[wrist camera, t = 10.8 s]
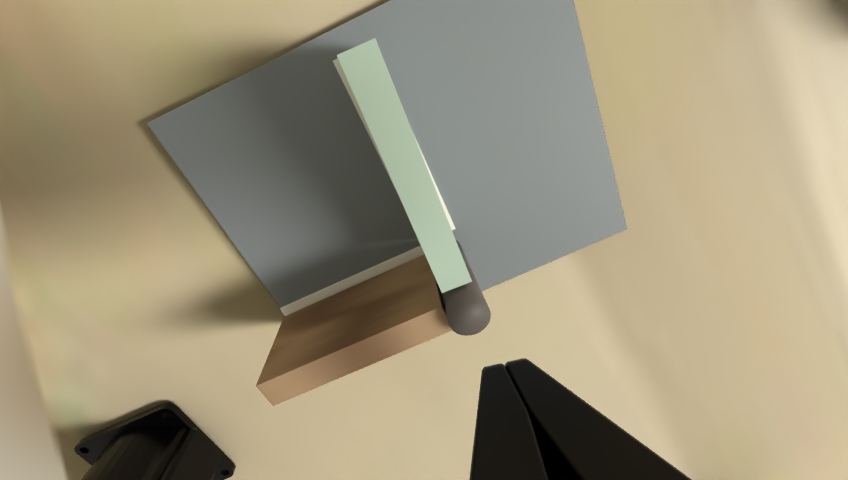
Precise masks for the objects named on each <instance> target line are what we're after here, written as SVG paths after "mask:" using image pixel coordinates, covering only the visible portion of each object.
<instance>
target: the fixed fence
mask: <svg viewBox="0 0 848 480" xmlns="http://www.w3.org/2000/svg"><path fill="white" fill-rule="evenodd" d="M456 242H457V245H458V247H459V250H460V252H461V255H462V257H463V260H464V262H465V265H466V267H467V270H468V272H469V275H470V277H471V280H472V282H469V283H467V284H464V285H462V286H459V287H457V288H454V289H452V290H449V291H446V292H444V293H442V292H441V290H440V288H439V285H438V283H437V281H436V279H435V276H434V274H433V272H432V270H431V267H430V265H429V263H428V260H427V258H426V256H425V254H424V255H422V256H420V257H418V258H415V259H413V260H411V261H409V262H406V263H404V264H402V265H399V266H397V267H395V268H393V269H390V270H388V271H386V272H384V273H381V274H379V275H377V276H375V277H372V278H370V279H368V280H366V281H363V282H361V283H359V284H356V285H354V286H352V287H350V288H347V289H345V290H343V291H341V292H338V293H336V294H334V295H332V296H329V297H327V298H325V299H323V300H320V301H318V302H316V303H313V304H311V305H309V306H307V307H304V308H302V309H300V310H298V311H295V312H293V313H291V314H289V315H286V316H284V319H283V321H282V324H281V326H280V328H279V331H278V333H277V336H276V338H275V341H274V343H273V346H272V348H271V350H270V353H269V355H268V358H267V360H266V363H265V365H264V368H263V370H262V372H261V375H260V377H259V380H258V382H257V385H256V387H257V388H258V389H259V390H260V391H261V392H262V394H263V395H264V396H265V397H266V398H267V400H268V401H269V402H270V403H271V404H272V405H273V406H274V405H276V404H279V403H281V402H283V401H286V400H288V399H290V398H293V397H295V396H298V395H300V394H302V393H305V392H307V391H309V390H312V389H314V388H317V387H319V386H321V385H324V384H326V383H328V382H331V381H333V380H335V379H338V378H340V377H343V376H345V375H347V374H350V373H352V372H354V371H357V370H359V369H362V368H364V367H366V366H369V365H371V364H373V363H376V362H378V361H381V360H383V359H385V358H388V357H390V356H392V355H395V354H397V353H399V352H402V351H404V350H407V349H409V348H411V347H414V346H416V345H418V344H421V343H423V342H426V341H428V340H430V339H433V338H435V337H437V336H440V335H442V334H444V333H447V332H449V331H452V330H453V331H454V332H456V333H458V334H460V335H474V334H477V333H479V332H480V331H482V330H483V329H484V328H485V327H486V326H487V325H488V323H489V321H490V310H489V308H488V305H487V303H486V301H485V299H484V296H483V294H482V292H481V290H480V287H479V285H478V283H477V281H476V278H475V276H474V274H473V272H472V269H471V267H470V265H469V263H468V260H467V258H466V256H465V254H464V251H463V249H462V247H461V245H460V243H459V242H458V241H457V240H456Z"/></svg>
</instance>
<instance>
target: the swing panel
mask: <svg viewBox="0 0 848 480" xmlns="http://www.w3.org/2000/svg"><path fill="white" fill-rule="evenodd" d="M337 57H338V60H339V62H340V64H341V66H342V69H343V71H344V73H345V75H346V78H347V80H348V82H349V84H350V87H351V89H352V91H353V93H354V96H355V98H356V100H357V102H358V105H359V107H360V109H361V111H362V114H363V116H364V118H365V121H366V123H367V125H368V127H369V130H370V132H371V134H372V136H373V139H374V141H375V143H376V145H377V148H378V150H379V152H380V154H381V157H382V159H383V161H384V163H385V166H386V168H387V170H388V172H389V175H390V177H391V179H392V181H393V184H394V186H395V188H396V191H397V193H398V195H399V197H400V200H401V202H402V204H403V206H404V209H405V211H406V213H407V215H408V218H409V220H410V222H411V224H412V227H413V229H414V231H415V233H416V236H417V238H418V240H419V242H420V245H421V247H422V249H423V251H424V254H425V256H426V258H427V260H428V263H429V265H430V267H431V270H432V272H433V274H434V276H435V279H436V281H437V283H438V285H439V288H440V290H441V292H442V293H444V292H446V291H449V290H452V289H454V288H457V287H459V286H462V285H464V284H467V283H469V282H472V280H471V277H470V275H469V272H468V270H467V267H466V265H465V262H464V260H463V257H462V255H461V252H460V250H459V247H458V245H457V242H456V240H455V237H454V235H453V232H452V230H451V227H450V225H449V222H448V219H447V217H446V214H445V212H444V209H443V207H442V204H441V202H440V199H439V197H438V194H437V192H436V189H435V187H434V184H433V182H432V179H431V177H430V174H429V172H428V169H427V167H426V164H425V162H424V159H423V157H422V154H421V152H420V149H419V147H418V144H417V142H416V139H415V137H414V134H413V131H412V129H411V126H410V124H409V121H408V119H407V116H406V114H405V111H404V109H403V106H402V104H401V101H400V99H399V96H398V94H397V91H396V89H395V86H394V84H393V81H392V79H391V76H390V74H389V71H388V69H387V66H386V64H385V61H384V59H383V56H382V54H381V51H380V49H379V46H378V44H377V41H376V38H374V39H372V40H370V41H367V42H365V43H363V44H361V45H358V46H356V47H354V48H351V49H349V50H347V51H345V52H342V53H340V54H338V55H337Z"/></svg>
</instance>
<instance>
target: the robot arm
mask: <svg viewBox="0 0 848 480" xmlns="http://www.w3.org/2000/svg"><path fill="white" fill-rule="evenodd" d="M168 412H169V413H168ZM75 452H76V453H77V454H78V455H80V456H81V457H82V458H83V459H84V460H86V461H87V462H88V463H89V464H91V465H92V466H91V468H90V469H89V470H88V472H87V473H86V474H85V476H84V477H83V478H82V480H224V479H227V478H229V477H231V476H232V475H233V473H234V471H235V468H236V466H235V464H234V463H233V462H232V461H231V460H230V459H229V458H228V457H227V456H226V455H225V454H224V453H223V452H222V451H221V450H220V449H219V448H218V447H217V446H216V445H215V444H214V443H213V442H212V441H211V440H210V439H209V438H208V437H207V436H206V435H205V434H204V433H203V432H202V431H201V430H200V429H199V428H198V427H197V426H196V425H195V424H194V423H193V422H192V421H191V420H190V419H189V418H188V417H187V416H186V415H185V414H184V413H183V412H182V411H181V410H180V409H179V408H178V407H177V406H176V405H175V404H172V403H165V404H162V405H160V406H158V407H155V408H153V409H151V410H149V411H146V412H144V413H142V414H139V415H137V416H135V417H132V418H130V419H128V420H125V421H123V422H121V423H119V424H116V425H114V426H112V427H109V428H107V429H105V430H102V431H100V432H98V433H95V434H93V435H91V436H89V437H86V438H84V439H82V440H81V441H80V442H79V443H78V444H77V445H76V447H75ZM470 480H691V479H690V478H689V477H687V476H686V475H685V474H683V473H682V472H680V471H679V470H678V469H676V468H675V467H674V466H672V465H671V464H670V463H668V462H667V461H665V460H664V459H663V458H661V457H660V456H659V455H657V454H656V453H655V452H653V451H652V450H650V449H649V448H648V447H646V446H645V445H644V444H642V443H641V442H640V441H638V440H637V439H635V438H634V437H633V436H631V435H630V434H629V433H627V432H626V431H625V430H623V429H622V428H620V427H619V426H618V425H616V424H615V423H614V422H612V421H611V420H610V419H608V418H607V417H605V416H604V415H603V414H601V413H600V412H599V411H597V410H596V409H595V408H593V407H592V406H590V405H589V404H588V403H586V402H585V401H584V400H582V399H581V398H580V397H578V396H577V395H575V394H574V393H573V392H571V391H570V390H569V389H567V388H566V387H565V386H563V385H562V384H560V383H559V382H558V381H556V380H555V379H554V378H552V377H551V376H550V375H548V374H547V373H545V372H544V371H543V370H541V369H540V368H539V367H537V366H536V365H535V364H533V363H532V362H530V361H529V360H527V359H518V360H514V361H509V362H507V363H506V364H505V366H504V365H503V364H496V365H492V366H487V367H484V368H483V370H482V376H481V384H480V393H479V402H478V410H477V419H476V428H475V436H474V445H473V454H472V463H471V471H470Z"/></svg>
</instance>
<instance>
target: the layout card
mask: <svg viewBox="0 0 848 480" xmlns="http://www.w3.org/2000/svg"><path fill="white" fill-rule="evenodd" d="M374 38H376V41H377V44H378V46H379V49H380V51H381V54H382V56H383V59H384V61H385V64H386V66H387V69H388V71H389V74H390V76H391V79H392V81H393V84H394V86H395V89H396V91H397V94H398V96H399V99H400V101H401V104H402V106H403V109H404V111H405V114H406V116H407V119H408V121H409V124H410V126H411V129H412V131H413V134H414V137H415V139H416V142H417V144H418V147H419V149H420V152H421V154H422V157H423V159H424V162H425V164H426V167H427V169H428V172H429V174H430V177H431V179H432V182H433V184H434V187H435V189H436V192H437V194H438V197H439V199H440V202H441V204H442V207H443V209H444V212H445V214H446V217H447V219H448V222H449V225H450V227H451V230H452V232H453V235H454V237H455V240H457V241H458V242H459V243H460V245H461V247H462V249H463V251H464V254H465V256H466V258H467V260H468V263H469V265H470V267H471V269H472V272H473V274H474V276H475V278H476V281H477V283H478V285H479V287H480V290H481V291H483V290H486V289H488V288H491V287H493V286H495V285H498V284H500V283H502V282H505V281H507V280H509V279H512V278H514V277H516V276H519V275H521V274H523V273H526V272H528V271H530V270H533V269H535V268H537V267H540V266H542V265H544V264H547V263H549V262H551V261H554V260H556V259H558V258H561V257H563V256H565V255H568V254H570V253H572V252H575V251H577V250H579V249H582V248H584V247H586V246H589V245H591V244H593V243H596V242H598V241H600V240H603V239H605V238H607V237H610V236H612V235H614V234H617V233H619V232H621V231H624V230H626V229H627V226H626V222H625V217H624V213H623V209H622V205H621V200H620V196H619V192H618V188H617V183H616V179H615V175H614V170H613V166H612V162H611V158H610V153H609V149H608V145H607V141H606V136H605V132H604V128H603V124H602V119H601V115H600V111H599V107H598V102H597V98H596V94H595V90H594V85H593V81H592V77H591V73H590V68H589V64H588V60H587V55H586V51H585V47H584V43H583V38H582V34H581V30H580V26H579V21H578V17H577V13H576V9H575V4H574V0H390V1H388V2H386V3H384V4H382V5H380V6H378V7H376V8H374V9H372V10H370V11H368V12H366V13H364V14H362V15H360V16H358V17H356V18H354V19H352V20H350V21H348V22H346V23H344V24H342V25H340V26H338V27H336V28H334V29H332V30H330V31H328V32H326V33H324V34H322V35H320V36H318V37H316V38H314V39H312V40H310V41H308V42H306V43H304V44H302V45H300V46H299V47H297V48H295V49H293V50H291V51H289V52H287V53H285V54H283V55H281V56H279V57H277V58H275V59H273V60H271V61H269V62H267V63H265V64H263V65H261V66H259V67H257V68H255V69H253V70H251V71H249V72H247V73H245V74H243V75H241V76H239V77H237V78H235V79H233V80H231V81H229V82H227V83H225V84H223V85H221V86H219V87H217V88H215V89H213V90H211V91H209V92H207V93H205V94H203V95H201V96H199V97H197V98H195V99H193V100H191V101H189V102H187V103H185V104H183V105H181V106H179V107H177V108H175V109H173V110H171V111H169V112H167V113H166V114H164V115H162V116H160V117H158V118H156V119H154V120H152V121H150V122H148V123H146V124H147V125H148V126H149V128H150V129H151V130H152V132H153V133H154V135H155V136H156V137H157V139H158V140H159V142H160V143H161V144H162V146H163V147H164V148H165V150H166V151H167V153H168V154H169V155H170V157H171V158H172V159H173V161H174V162H175V164H176V165H177V166H178V168H179V169H180V170H181V172H182V173H183V175H184V176H185V177H186V179H187V180H188V182H189V183H190V184H191V186H192V187H193V188H194V190H195V191H196V193H197V194H198V195H199V197H200V198H201V199H202V201H203V202H204V204H205V205H206V206H207V208H208V209H209V210H210V212H211V213H212V215H213V216H214V217H215V219H216V220H217V222H218V223H219V224H220V226H221V227H222V228H223V230H224V231H225V233H226V234H227V235H228V237H229V238H230V239H231V241H232V242H233V244H234V245H235V246H236V248H237V249H238V250H239V252H240V253H241V255H242V256H243V257H244V259H245V260H246V261H247V263H248V264H249V266H250V267H251V268H252V270H253V271H254V273H255V274H256V275H257V277H258V278H259V279H260V281H261V282H262V284H263V285H264V286H265V288H266V289H267V290H268V292H269V293H270V295H271V296H272V297H273V299H274V300H275V301H276V303H277V304H278V306H279V307H280V310H281V311H282V313H283V314H284V316H286V315H289V314H291V313H293V312H295V311H298V310H300V309H302V308H304V307H307V306H309V305H311V304H313V303H316V302H318V301H320V300H323V299H325V298H327V297H329V296H332V295H334V294H336V293H338V292H341V291H343V290H345V289H347V288H350V287H352V286H354V285H356V284H359V283H361V282H363V281H366V280H368V279H370V278H372V277H375V276H377V275H379V274H381V273H384V272H386V271H388V270H390V269H393V268H395V267H397V266H399V265H402V264H404V263H406V262H409V261H411V260H413V259H415V258H418V257H420V256H422V255H424V251H423V249H422V247H421V245H420V242H419V240H418V238H417V236H416V233H415V231H414V229H413V227H412V224H411V222H410V220H409V218H408V215H407V213H406V211H405V209H404V206H403V204H402V202H401V200H400V197H399V195H398V193H397V191H396V188H395V186H394V184H393V181H392V179H391V177H390V175H389V172H388V170H387V168H386V166H385V163H384V161H383V159H382V157H381V154H380V152H379V150H378V148H377V145H376V143H375V141H374V139H373V136H372V134H371V132H370V130H369V127H368V125H367V123H366V121H365V118H364V116H363V114H362V111H361V109H360V107H359V105H358V102H357V100H356V98H355V96H354V93H353V91H352V89H351V87H350V84H349V82H348V80H347V78H346V75H345V73H344V71H343V69H342V66H341V64H340V62H339V60H338V57H337V55H338V54H340V53H342V52H345V51H347V50H349V49H351V48H354V47H356V46H358V45H361V44H363V43H365V42H367V41H370V40H372V39H374Z"/></svg>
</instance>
